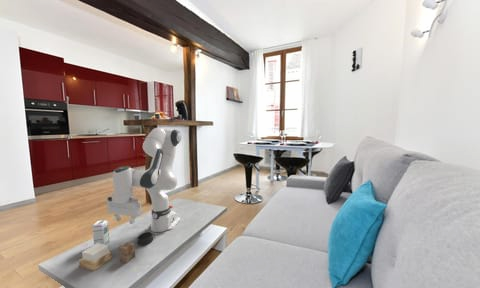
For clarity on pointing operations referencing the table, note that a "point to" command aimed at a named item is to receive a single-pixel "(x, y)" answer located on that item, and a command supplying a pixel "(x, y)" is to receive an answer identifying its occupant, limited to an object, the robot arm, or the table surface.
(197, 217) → the table surface
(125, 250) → the walnut block
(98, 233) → the syrup box
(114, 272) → the table surface
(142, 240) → the smart speaker
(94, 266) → the oak base block
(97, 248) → the off-white top block
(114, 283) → the table surface
